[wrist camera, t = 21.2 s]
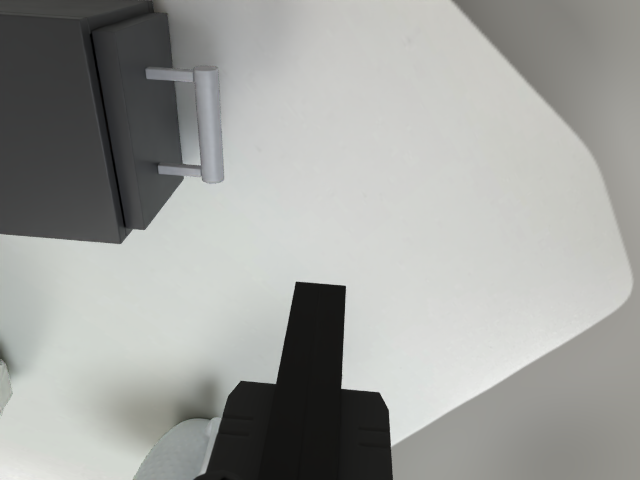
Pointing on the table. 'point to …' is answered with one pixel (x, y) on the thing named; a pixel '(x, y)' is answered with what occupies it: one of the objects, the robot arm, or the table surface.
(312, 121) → the table surface
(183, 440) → the mug
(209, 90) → the drawer
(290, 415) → the robot arm
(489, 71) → the table surface
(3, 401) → the vase
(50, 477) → the table surface
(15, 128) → the cabinet
